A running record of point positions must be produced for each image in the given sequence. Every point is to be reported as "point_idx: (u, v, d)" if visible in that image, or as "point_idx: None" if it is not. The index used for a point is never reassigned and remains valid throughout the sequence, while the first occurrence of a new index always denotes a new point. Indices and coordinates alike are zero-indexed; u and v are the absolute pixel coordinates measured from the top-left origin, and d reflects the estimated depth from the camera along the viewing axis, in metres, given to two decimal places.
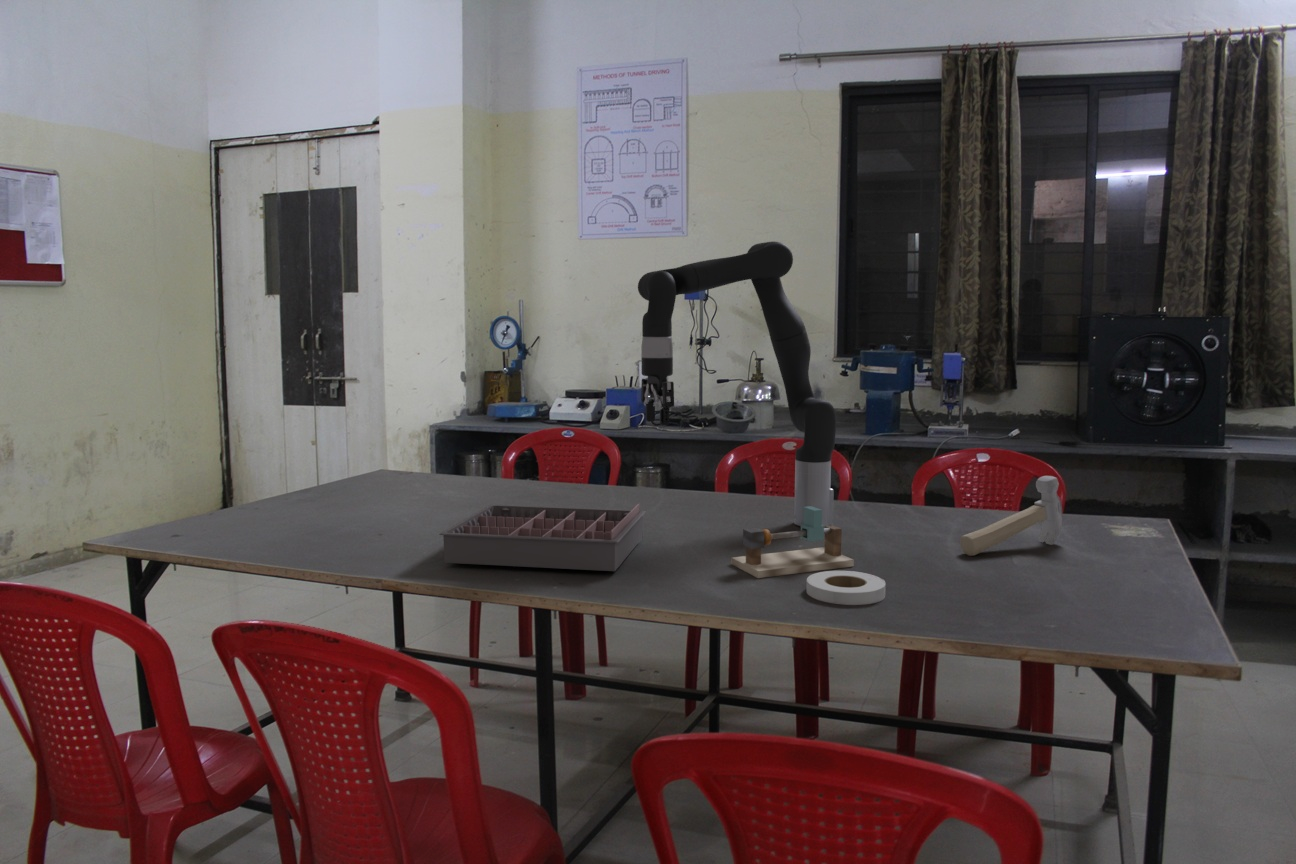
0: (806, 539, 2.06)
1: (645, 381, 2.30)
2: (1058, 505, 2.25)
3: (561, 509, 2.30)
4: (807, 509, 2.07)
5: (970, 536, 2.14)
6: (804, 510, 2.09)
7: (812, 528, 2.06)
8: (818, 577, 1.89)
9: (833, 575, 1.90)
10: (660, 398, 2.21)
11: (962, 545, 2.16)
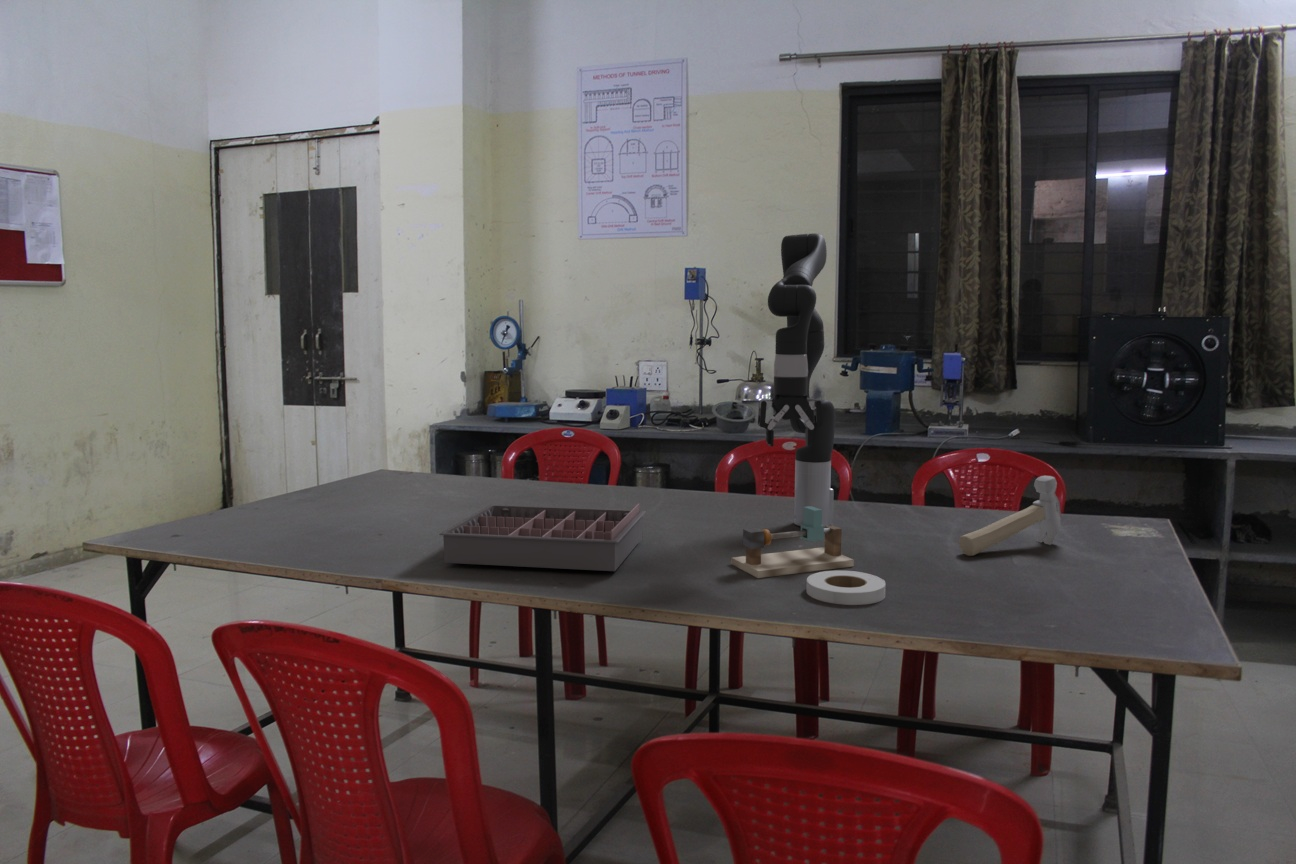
0: (806, 539, 2.06)
1: None
2: (1056, 505, 2.25)
3: (561, 509, 2.30)
4: (807, 509, 2.07)
5: (969, 536, 2.14)
6: (804, 510, 2.09)
7: (812, 528, 2.06)
8: (819, 577, 1.89)
9: (833, 575, 1.90)
10: None
11: (961, 545, 2.16)
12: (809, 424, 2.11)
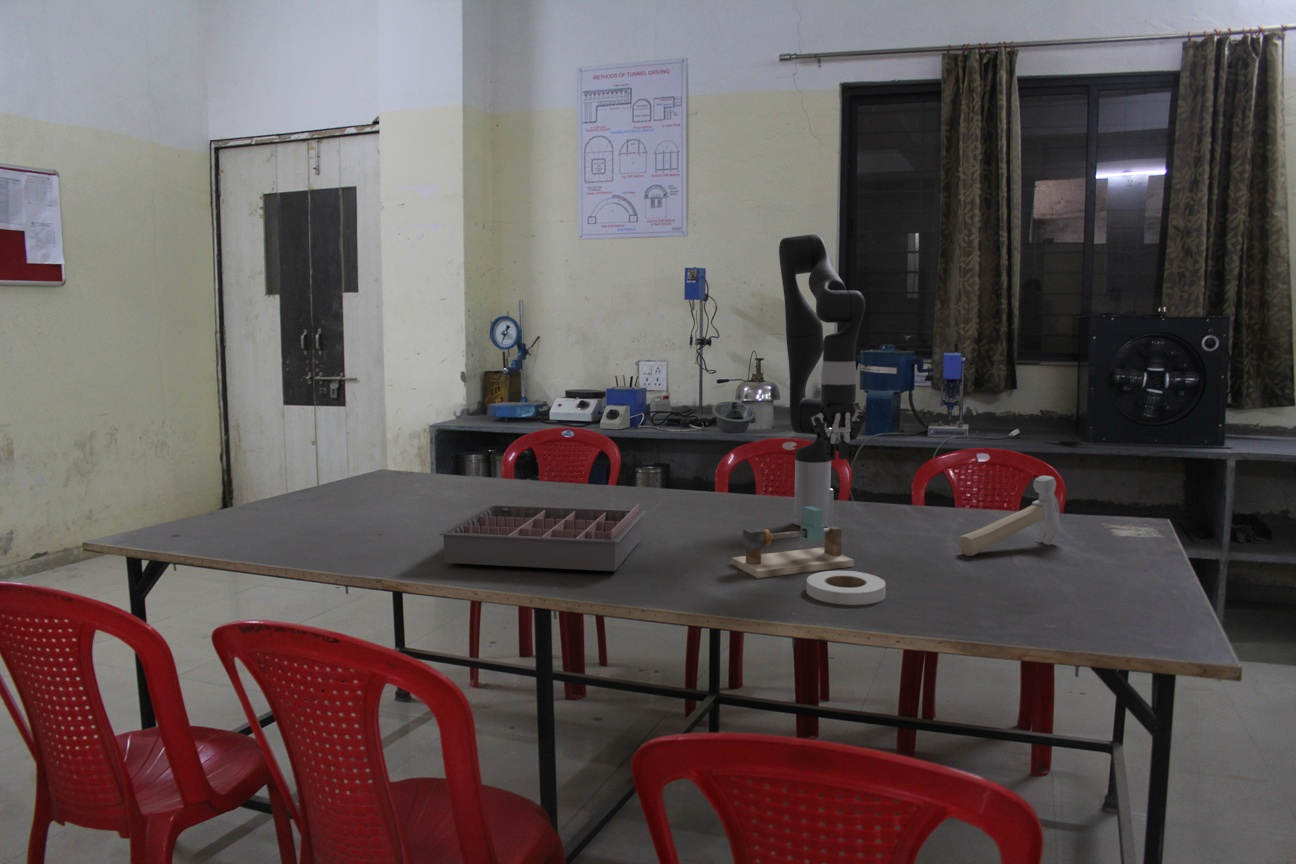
0: (806, 539, 2.06)
1: None
2: (1055, 505, 2.25)
3: (561, 509, 2.30)
4: (807, 509, 2.07)
5: (968, 536, 2.14)
6: (804, 510, 2.09)
7: (812, 528, 2.06)
8: (818, 577, 1.89)
9: (833, 575, 1.90)
10: None
11: (960, 545, 2.16)
12: (847, 436, 2.07)
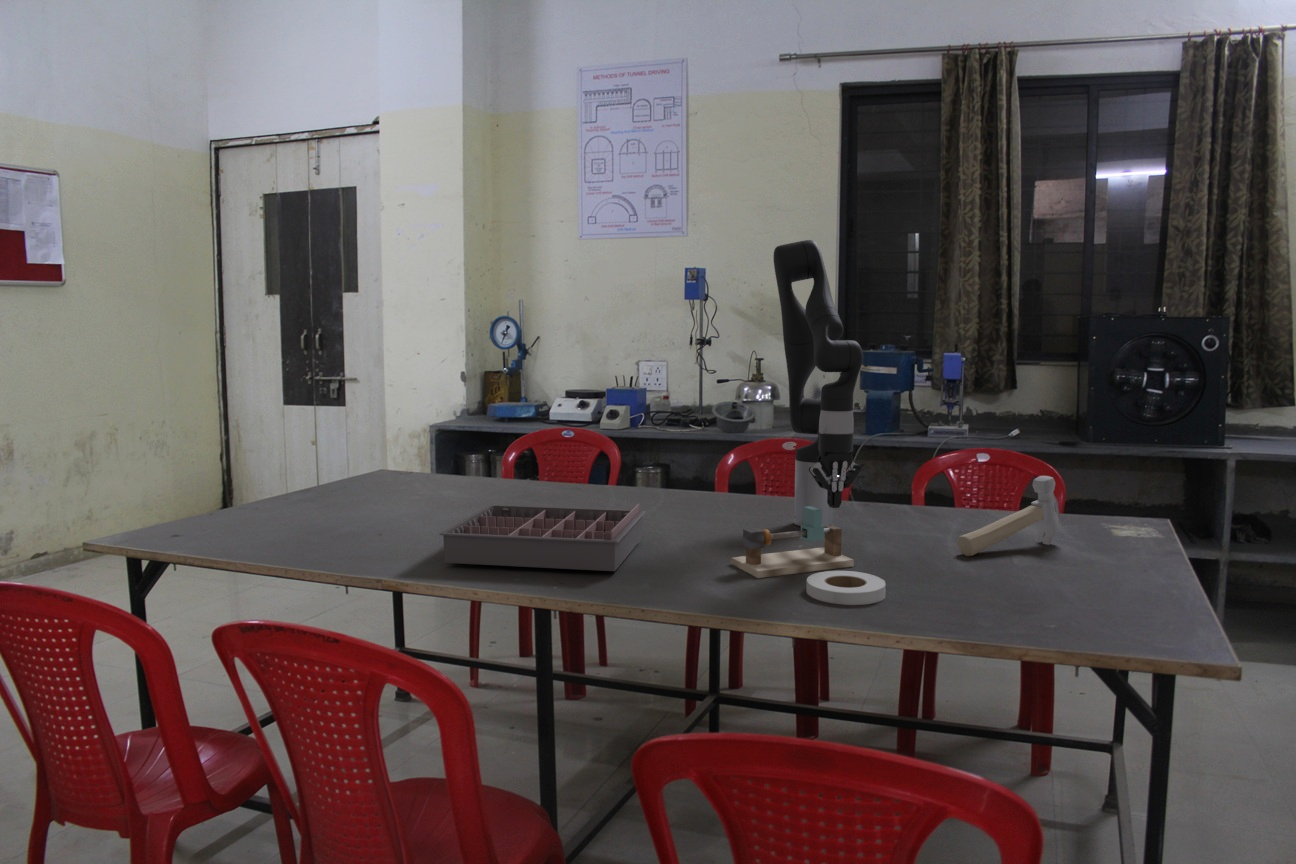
0: (806, 539, 2.06)
1: (817, 468, 2.06)
2: (1055, 505, 2.25)
3: (561, 509, 2.30)
4: (807, 509, 2.07)
5: (968, 536, 2.14)
6: (804, 510, 2.09)
7: (812, 528, 2.06)
8: (818, 577, 1.89)
9: (833, 575, 1.90)
10: None
11: (960, 545, 2.16)
12: (841, 485, 2.08)
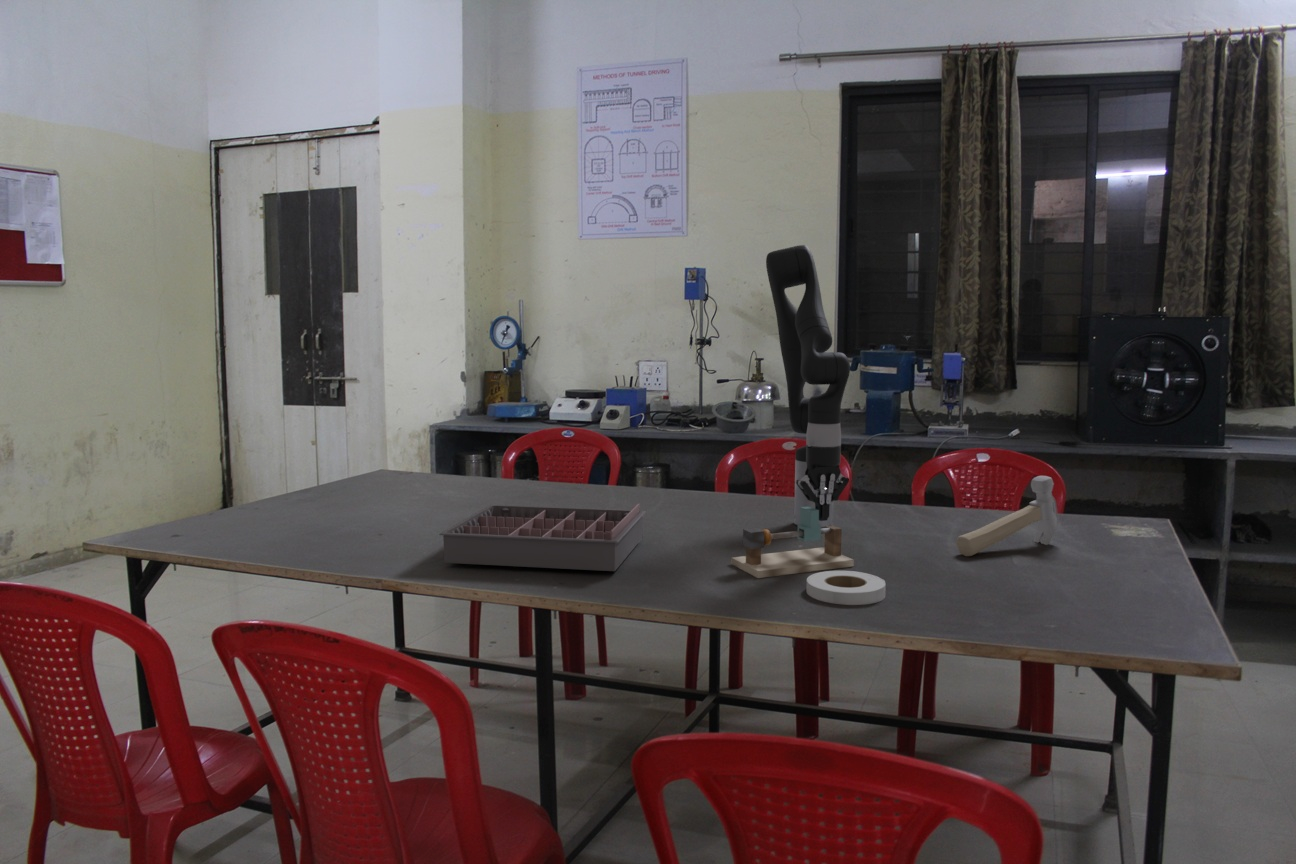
0: (803, 539, 2.06)
1: (805, 481, 2.05)
2: (1053, 505, 2.25)
3: (561, 509, 2.30)
4: (804, 509, 2.07)
5: (967, 537, 2.14)
6: (801, 510, 2.08)
7: (809, 528, 2.06)
8: (818, 577, 1.89)
9: (833, 575, 1.90)
10: None
11: (958, 546, 2.16)
12: (828, 498, 2.07)
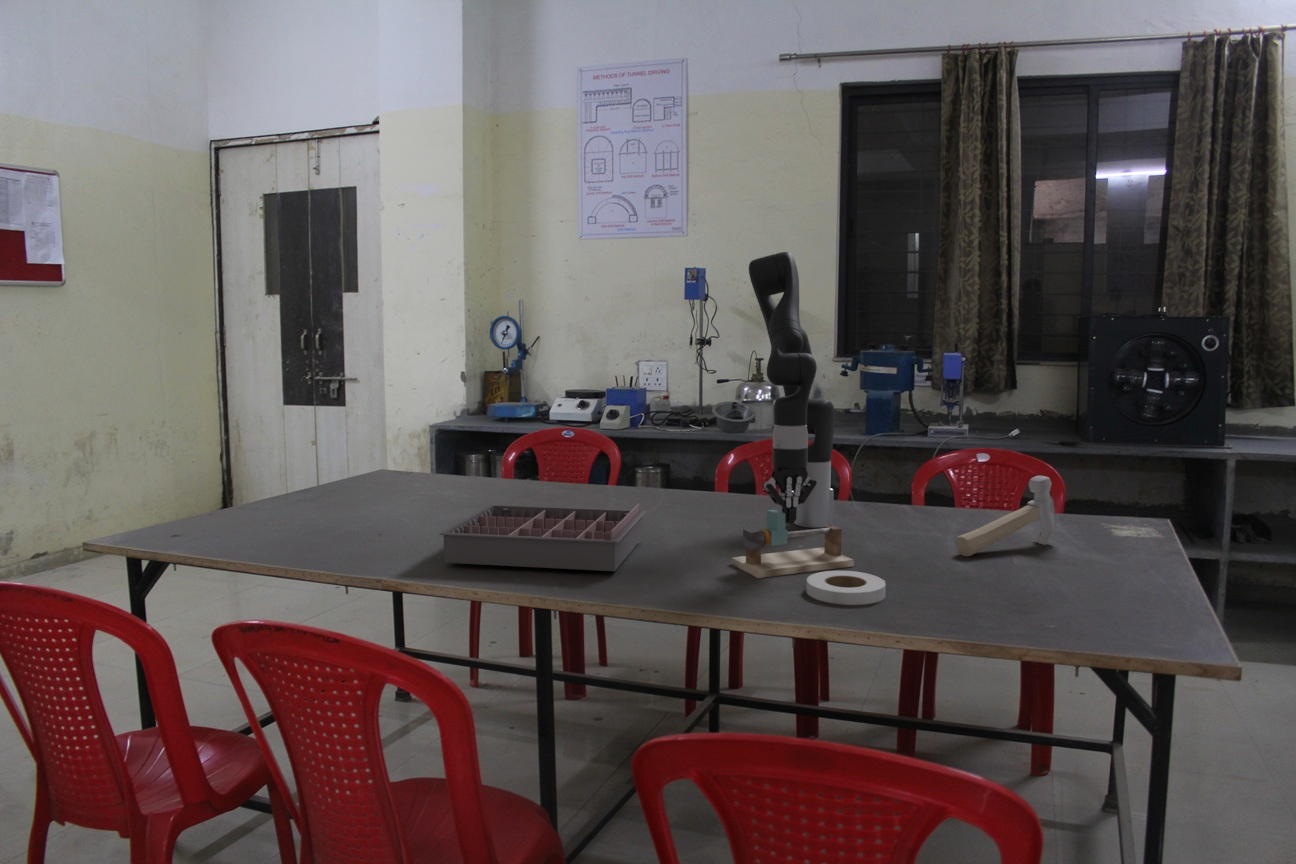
0: None
1: (771, 484, 2.01)
2: (1051, 505, 2.25)
3: (561, 509, 2.30)
4: (770, 512, 2.04)
5: (965, 537, 2.13)
6: (767, 514, 2.05)
7: (775, 532, 2.02)
8: (818, 577, 1.89)
9: (833, 575, 1.90)
10: None
11: (957, 546, 2.15)
12: (795, 501, 2.04)
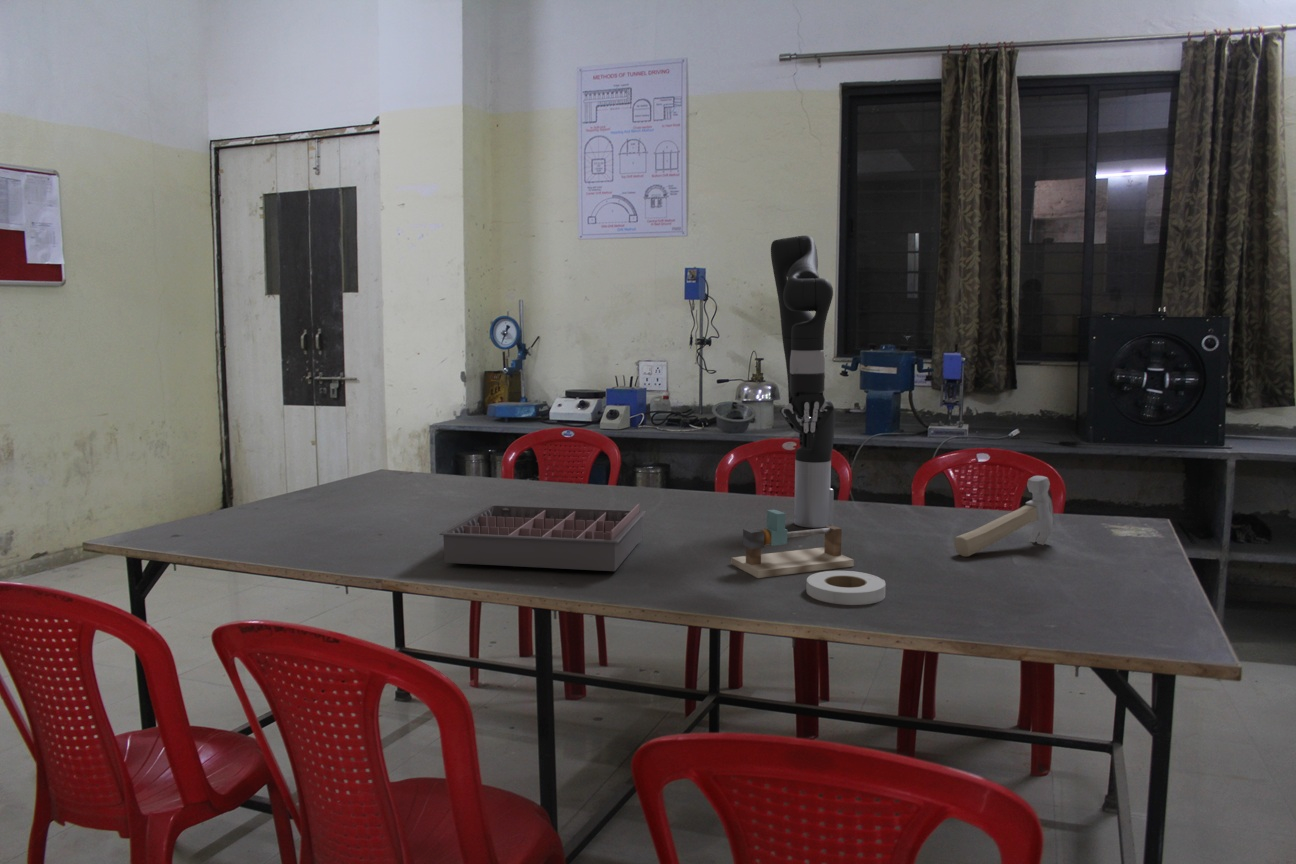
0: None
1: (788, 409, 2.03)
2: (1049, 505, 2.25)
3: (561, 509, 2.30)
4: (770, 512, 2.04)
5: (964, 537, 2.13)
6: (767, 514, 2.05)
7: (775, 532, 2.02)
8: (818, 577, 1.89)
9: (833, 575, 1.90)
10: None
11: (956, 546, 2.15)
12: (812, 426, 2.05)
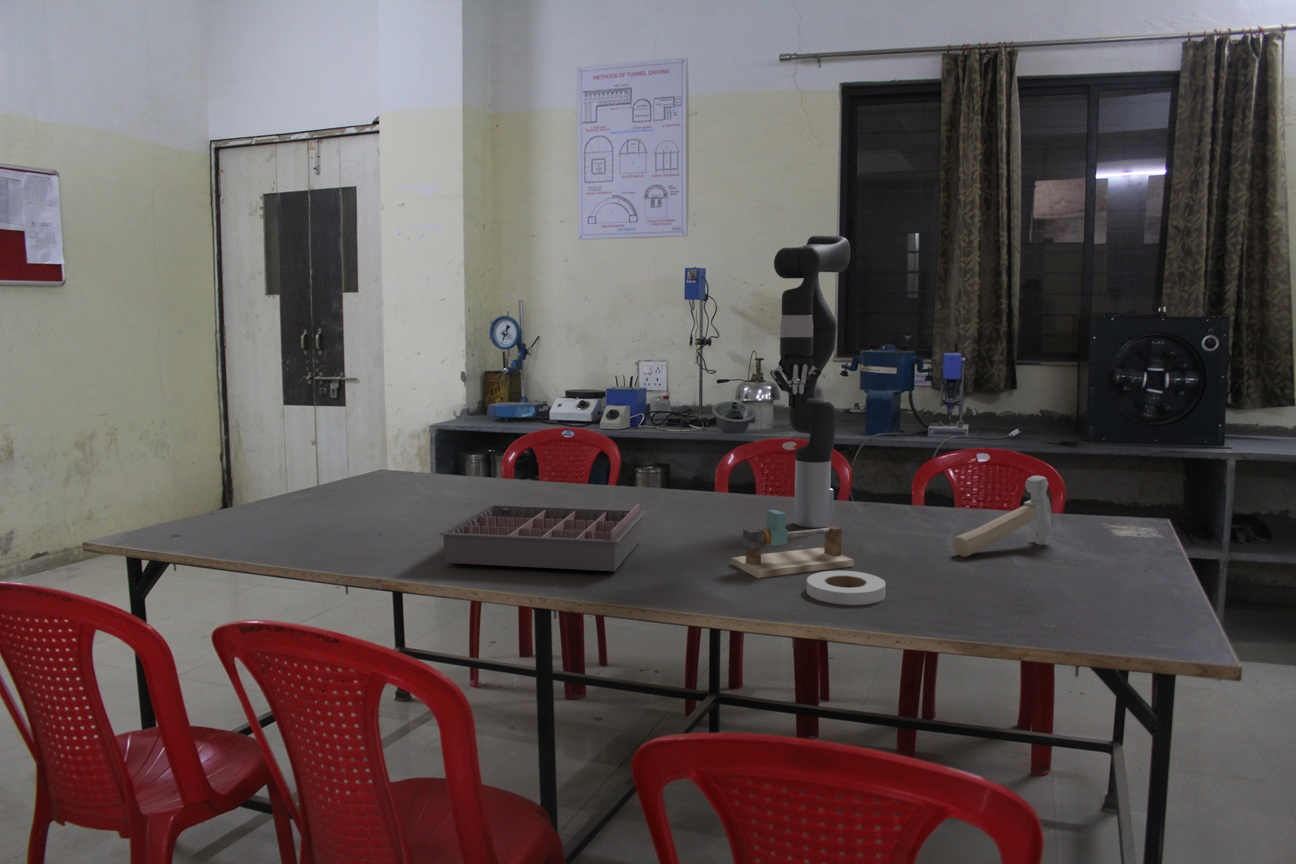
0: None
1: (778, 371, 2.14)
2: (1047, 505, 2.25)
3: (561, 509, 2.30)
4: (770, 512, 2.04)
5: (963, 537, 2.13)
6: (767, 514, 2.05)
7: (775, 532, 2.02)
8: (818, 577, 1.89)
9: (833, 575, 1.90)
10: None
11: (955, 546, 2.15)
12: (801, 388, 2.16)
